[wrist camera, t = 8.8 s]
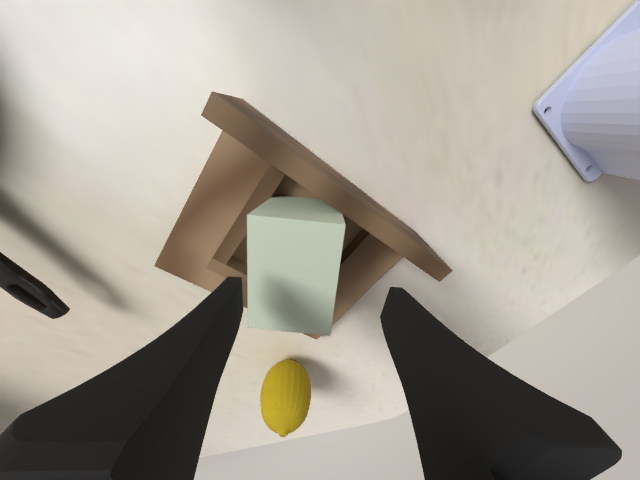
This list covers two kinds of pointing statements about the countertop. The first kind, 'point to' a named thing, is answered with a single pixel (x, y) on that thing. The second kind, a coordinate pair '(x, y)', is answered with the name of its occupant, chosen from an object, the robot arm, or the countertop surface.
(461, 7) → the countertop surface
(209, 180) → the brown wooden stand
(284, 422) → the lemon
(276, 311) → the pale green block
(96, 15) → the countertop surface
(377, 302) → the countertop surface
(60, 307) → the frying pan
